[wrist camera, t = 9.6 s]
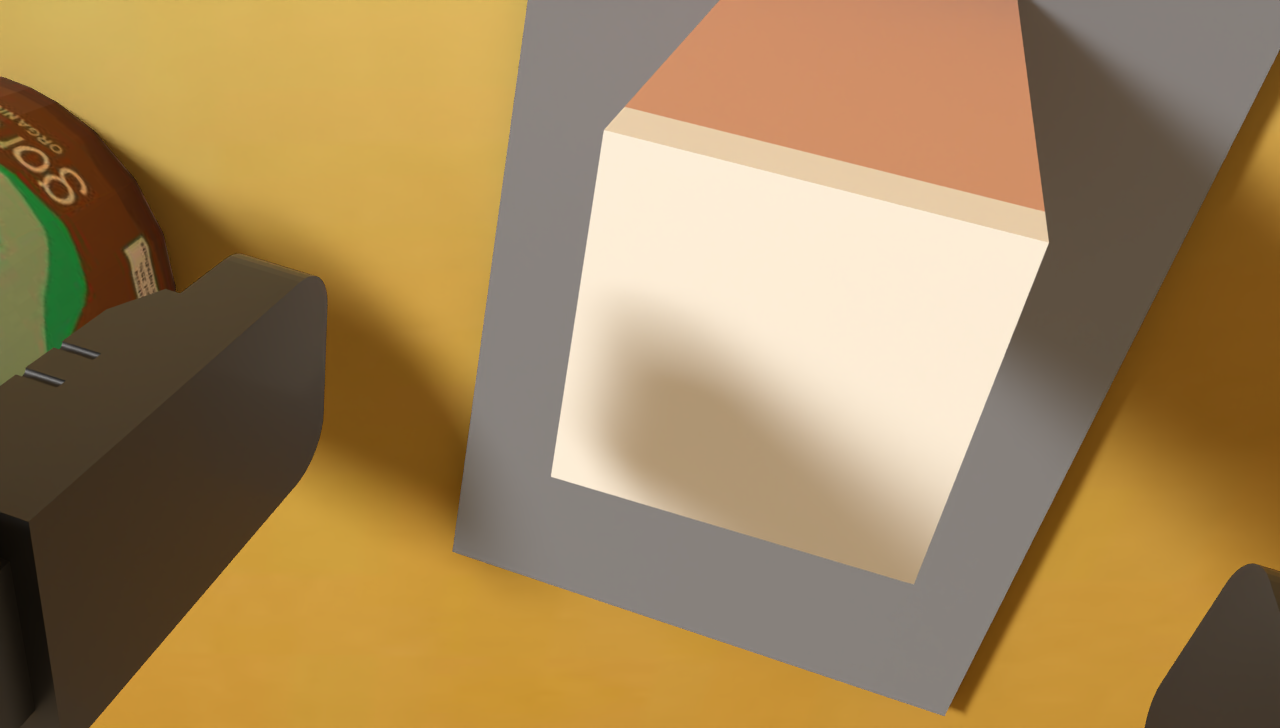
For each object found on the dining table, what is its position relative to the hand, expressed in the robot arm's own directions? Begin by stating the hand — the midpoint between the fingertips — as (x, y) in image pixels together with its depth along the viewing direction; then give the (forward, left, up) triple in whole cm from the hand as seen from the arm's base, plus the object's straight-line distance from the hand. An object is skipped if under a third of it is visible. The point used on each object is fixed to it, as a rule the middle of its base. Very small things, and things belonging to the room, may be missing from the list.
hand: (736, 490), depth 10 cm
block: (0, 0, -15) cm, 15 cm away
